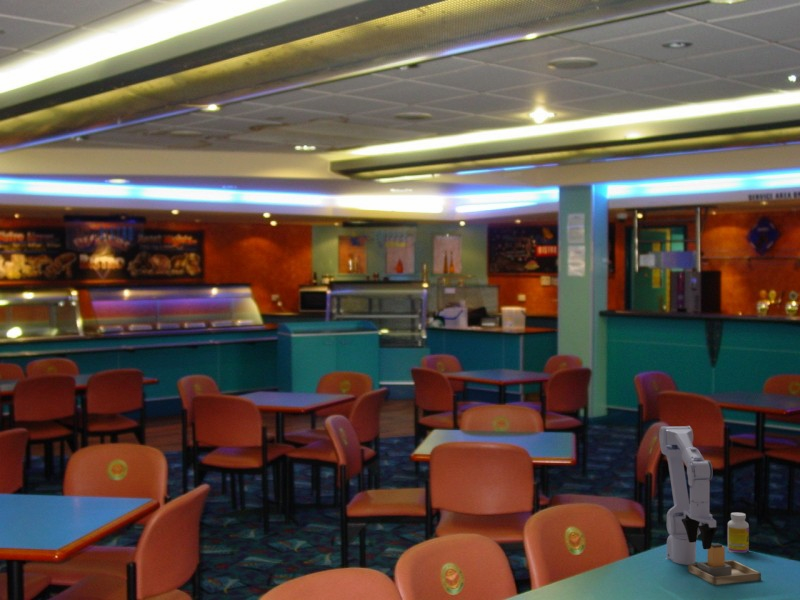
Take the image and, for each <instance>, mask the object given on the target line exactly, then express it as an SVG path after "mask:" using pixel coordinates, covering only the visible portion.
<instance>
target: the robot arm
mask: <svg viewBox="0 0 800 600" xmlns="http://www.w3.org/2000/svg"><path fill="white" fill-rule="evenodd" d="M693 432H694V431H693V428H692V427H691V426H690V425H685V426H684V425H683V426H680V425H679V426H676V425H675V426H664V425H663V426H661V427H660V428H659V433H658V434H659V435H658V440H659V448H660V451H661V454H663V455H664V456H666V460H667V464H668V465H667V466H668V472H669V479H670V485H671V492H672V499H673V506H672V507H671V508H670V509H668V511H667V513H666V530H667V534H668V537H667V539H666V558H664V560H671V561H672V562H674V563H675V564H679V565H687V566H688V565H689V564H697V563H696V562H697V561H696V560H697V555H696V554H697V552H696V551H697V539H698V536H701V544H702V545H701V546H702V549H703V550H708V549H710V548H711V544H713V540H714V538H715V535H716V533H717V531H718V530H719V526H717V520H716V519H714V518H713V514H711V513H710V492H711V491H710V486H711V484H710V481H711V480H712V479H713V473H714V472H713V465H712V463H711V460H708V459H705V458H704V456H703V454H701V452H700V450H699V448H697V447H695V446H694V445H693V442H694V433H693ZM684 466H686V471H685V467H684ZM686 473H687V478H686ZM686 479H688V482H687V480H686ZM687 483H688V486H689V491H688V487H687ZM688 492H689V493H688ZM703 524H704V525H703Z"/></svg>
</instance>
